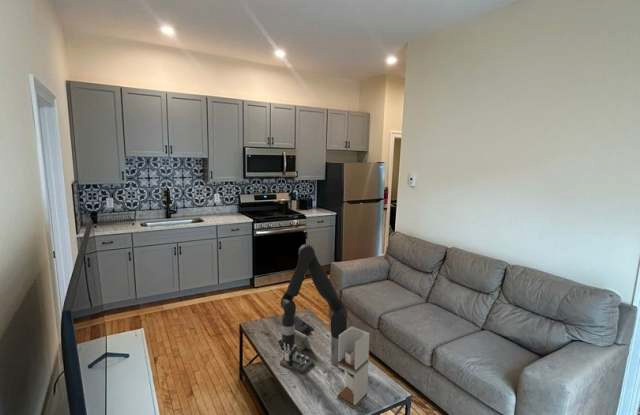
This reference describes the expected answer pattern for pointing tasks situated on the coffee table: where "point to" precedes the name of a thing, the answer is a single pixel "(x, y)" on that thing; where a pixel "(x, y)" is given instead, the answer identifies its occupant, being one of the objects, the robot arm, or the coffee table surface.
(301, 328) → the dark slate chunk
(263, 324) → the coffee table surface
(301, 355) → the console
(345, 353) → the display case
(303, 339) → the digital clock
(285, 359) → the fader tab
